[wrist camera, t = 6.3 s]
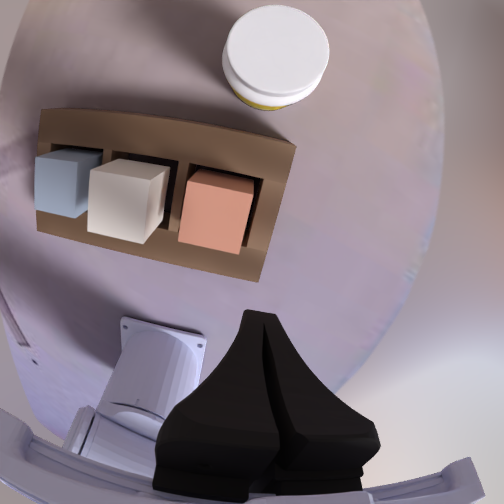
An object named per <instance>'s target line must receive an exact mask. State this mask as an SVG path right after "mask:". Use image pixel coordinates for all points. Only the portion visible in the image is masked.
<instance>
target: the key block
mask: <svg viewBox="0 0 504 504" xmlns="http://www.w3.org/2000/svg"><path fill="white" fill-rule="evenodd" d="M73 145H74V146H83V147H92V148H100V149H104V151H103V159H102V165H104V164H106V163H109V162H111V161H114V160H117V159H125V160H128V157H129V153H135V154H142V155H148V156H154V157H160V158H166V159H171V160H177V161H179V164H178V170H177V176H176V182H175V188H174V194H173V201H172V207H171V213H167V212H164V213H163V220H162V221H161V223H160V224H159V225H158V226H157V228H156V229H155V230H154V231H153V233H152V234H151V235H150V236H149V238H148V239H147V240H146V241H145V243H144V244H140V243H136V242H131V241H127V240H123V239H118V238H114V237H110V236H105V235H101V234H97V233H93V232H88V231H87V226H88V210H87V211H85V212H84V213H82V214H81V215H79V216H78V217H77V218H71V217H66V216H62V215H57V214H53V213H48V212H44V211H40V210H36V220H37V231H40V232H44V233H47V234H51V235H55V236H59V237H63V238H66V239H70V240H74V241H78V242H82V243H86V244H90V245H94V246H98V247H102V248H106V249H110V250H114V251H119V252H123V253H127V254H131V255H135V256H140V257H144V258H148V259H152V260H157V261H161V262H165V263H170V264H174V265H179V266H183V267H188V268H192V269H197V270H201V271H206V272H210V273H215V274H220V275H224V276H229V277H234V278H238V279H243V280H248V281H253V282H258V281H259V278H260V275H261V271H262V268H263V264H264V261H265V257H266V254H267V250H268V247H269V243H270V240H271V236H272V233H273V229H274V226H275V222H276V219H277V215H278V211H279V208H280V204H281V201H282V197H283V194H284V190H285V186H286V183H287V179H288V176H289V172H290V168H291V165H292V161H293V157H294V154H295V150H296V146H295V145H294V144H292V143H291V142H288V141H284V140H280V139H276V138H272V137H268V136H264V135H260V134H255V133H251V132H247V131H242V130H237V129H233V128H228V127H223V126H218V125H213V124H207V123H202V122H196V121H190V120H184V119H178V118H171V117H164V116H157V115H149V114H141V113H132V112H122V111H111V110H97V109H80V108H54V109H41V115H40V124H39V133H38V145H37V156H40V155H43V154H47V153H50V152H54V151H57V150H61V149H64V148H72V147H73ZM197 164H198V165H203V166H208V167H213V168H218V169H223V170H227V171H232V172H236V173H241V174H245V175H250V176H254V177H258V178H260V182H259V186H258V190H257V194H256V198H255V202H254V206H253V210H252V214H251V218H250V222H249V226H248V230H246V229H245V231H244V235H243V240H242V244H241V248H240V252H239V255H238V254H234V253H229V252H225V251H220V250H215V249H211V248H206V247H202V246H197V245H192V244H188V243H183V242H179V241H178V237H179V230H180V223H181V217H182V210H183V204H184V198H185V193H186V187H187V181H188V180H189V179H190V178H191V177H192V176H193V175H194V174H195V170H196V165H197Z"/></svg>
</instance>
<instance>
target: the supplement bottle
mask: <svg viewBox="0 0 504 504" xmlns="http://www.w3.org/2000/svg"><path fill="white" fill-rule="evenodd" d="M328 59H329V44H328V40H327V37H326V35H325V33H324V31H323V29H322V28H321V26H320V25H319V24H318V23H317V22H316V21H315V20H314V19H313V18H312V17H311V16H309V15H308V14H306V13H305V12H303V11H301V10H298V9H296V8H293V7H289V6H284V5H266V6H261V7H258V8H255V9H253V10H251V11H249V12H247V13H245V14H244V15H243V16H241V17H240V18H239V19H238V20H237V21H236V22H235V24H234V25H233V27H232V28H231V30H230V32H229V34H228V38H227V41H226V44H225V47H224V50H223V54H222V67H223V71H224V74H225V76H226V79H227V81H228V82H229V84H230V86H231V87H232V89H233V91H234V92H235V94H236V95H237V97H238V98H239V99H240V100H241V101H242V102H244V103H245V104H247V105H248V106H250V107H253V108H255V109H259V110H263V111H273V110H278V109H281V108H284V107H286V106H289V105H292V104H294V103H296V102H299V101H301V100H302V99H304V98H305V97H307V96H308V95H309V94H310V93H311V92H312V91H313V90H314V89H315V88H316V86H317V85H318V83H319V82H320V80H321V77H322V75H323V72H324V70H325V68H326V66H327V63H328Z"/></svg>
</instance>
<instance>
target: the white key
mask: <svg viewBox="0 0 504 504" xmlns="http://www.w3.org/2000/svg"><path fill="white" fill-rule="evenodd" d="M169 173H170V167H167V166H161V165H156V164H150V163H144V162H138V161H132V160H125V159H117V160H114V161H111V162H109V163H106V164H104V165H101V166H99V167H96V168H94V169H91V170H90V179H89V195H88V226H87V231H88V232H93V233H97V234H101V235H105V236H110V237H114V238H118V239H123V240H127V241H131V242H136V243H140V244H144V243H145V241H146V240H147V239H148V238H149V236H150V235H151V234H152V233H153V231H154V230H155V229H156V228H157V226H158V225H159V224H160V223H161V221H162V220H163V213H164V205H165V198H166V192H167V185H168V179H169Z"/></svg>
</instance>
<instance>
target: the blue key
mask: <svg viewBox="0 0 504 504" xmlns="http://www.w3.org/2000/svg"><path fill="white" fill-rule="evenodd" d="M102 159H103V152H96V151H89V150H80V149H72V148H64V149H61V150H57V151H54V152H50V153H47V154H43V155H40V156H37V157H35V180H34V199H35V210H40V211H44V212H48V213H53V214H57V215H62V216H66V217H71V218H77V217H78V216H79V215H81V214H82V213H84V212H85V211H87V210H88V195H89V179H90V170H91V169H94V168H96V167H99V166H101V165H102Z"/></svg>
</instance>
